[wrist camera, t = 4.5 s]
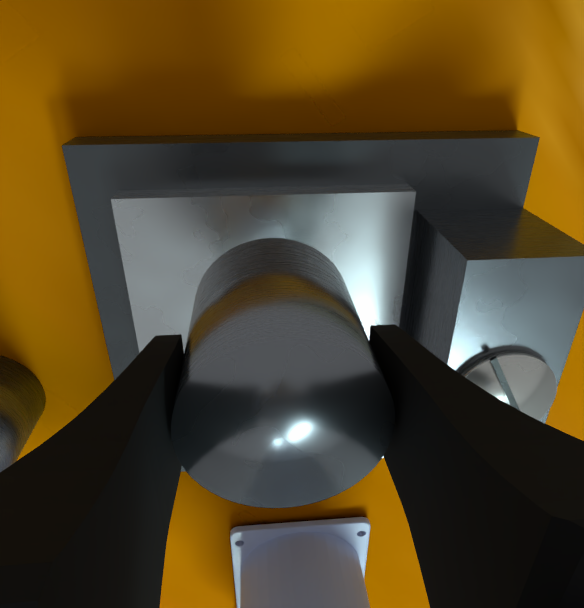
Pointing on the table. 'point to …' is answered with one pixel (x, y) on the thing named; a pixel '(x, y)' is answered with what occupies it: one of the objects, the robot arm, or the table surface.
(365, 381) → the cylinder
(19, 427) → the cylinder
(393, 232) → the dial scale
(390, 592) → the table surface
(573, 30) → the table surface
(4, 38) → the table surface
